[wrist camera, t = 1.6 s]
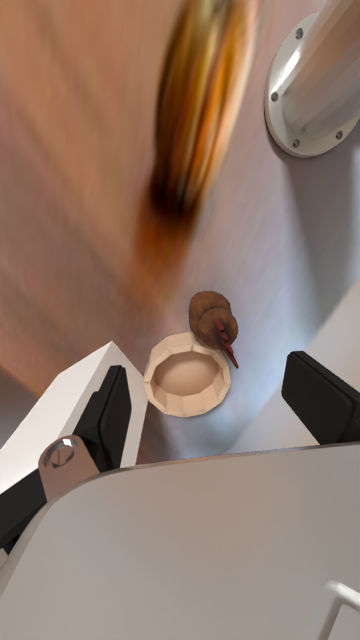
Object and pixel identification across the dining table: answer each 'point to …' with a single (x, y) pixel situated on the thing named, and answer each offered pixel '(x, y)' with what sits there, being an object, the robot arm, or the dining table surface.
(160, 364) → the pot
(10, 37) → the dining table surface
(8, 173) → the dining table surface
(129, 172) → the dining table surface
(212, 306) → the wooden figurine
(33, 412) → the milk
